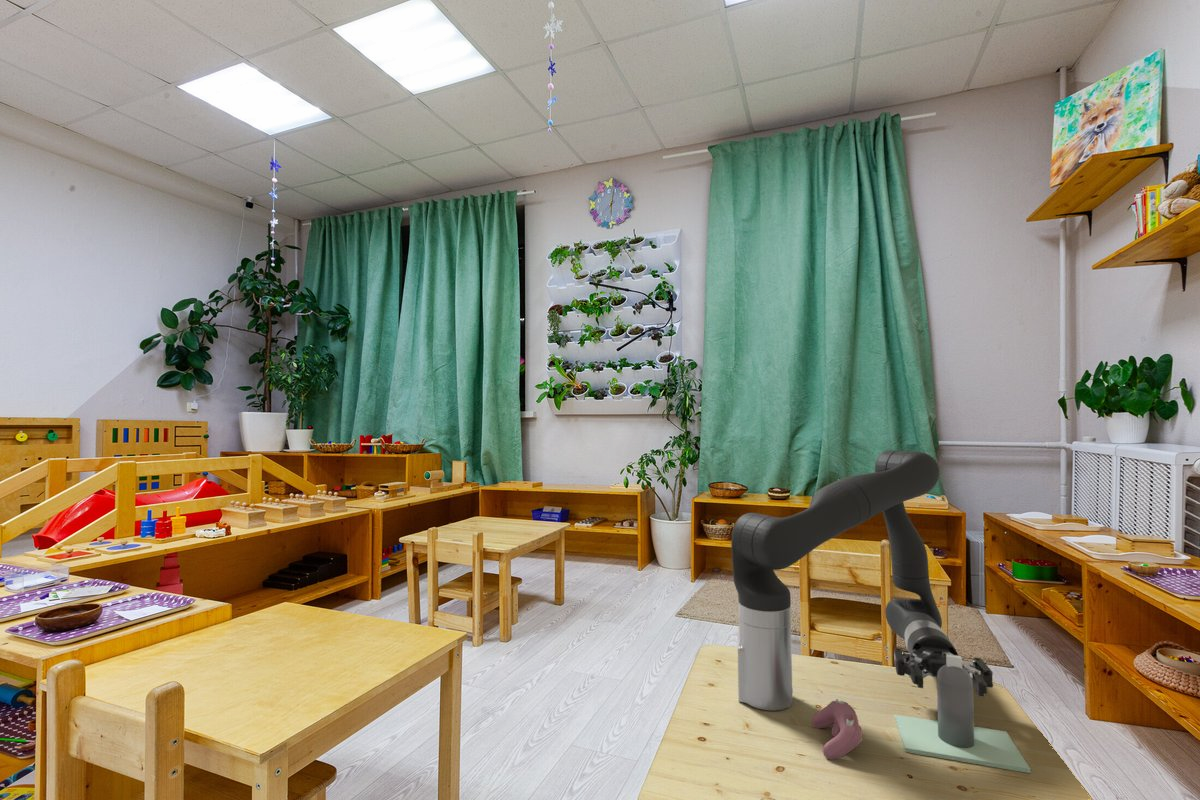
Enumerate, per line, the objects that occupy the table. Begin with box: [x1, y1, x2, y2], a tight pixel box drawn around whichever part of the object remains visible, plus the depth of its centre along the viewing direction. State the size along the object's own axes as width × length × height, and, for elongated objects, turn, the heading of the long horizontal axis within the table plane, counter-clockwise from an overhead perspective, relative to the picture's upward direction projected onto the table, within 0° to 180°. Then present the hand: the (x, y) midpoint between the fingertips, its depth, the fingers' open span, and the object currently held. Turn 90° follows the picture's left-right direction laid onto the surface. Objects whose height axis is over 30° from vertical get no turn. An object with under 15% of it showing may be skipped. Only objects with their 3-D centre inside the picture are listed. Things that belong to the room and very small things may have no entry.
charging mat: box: [894, 714, 1032, 774], centre depth 87 cm, size 16×10×1 cm, turn 70°
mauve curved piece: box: [811, 698, 863, 760], centre depth 88 cm, size 10×5×7 cm, turn 170°
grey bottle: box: [936, 654, 975, 748], centre depth 88 cm, size 5×5×13 cm
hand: (950, 686), depth 90 cm, fingers open, 8 cm apart
